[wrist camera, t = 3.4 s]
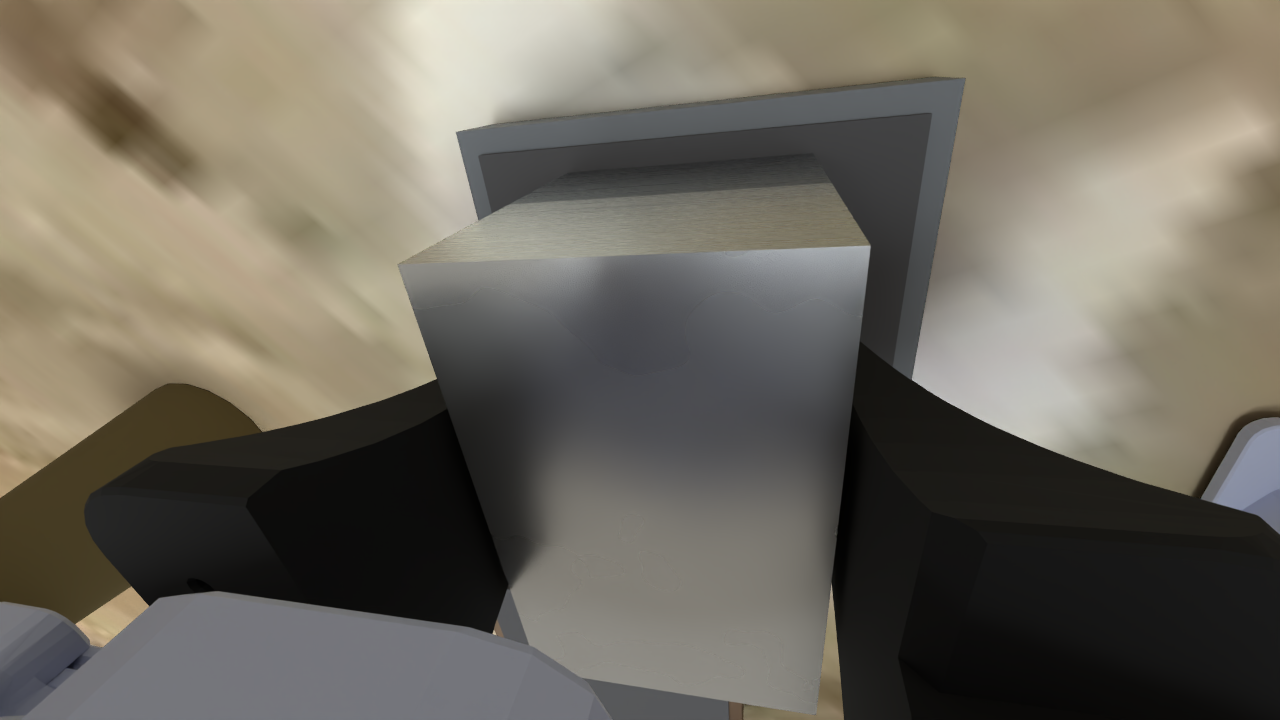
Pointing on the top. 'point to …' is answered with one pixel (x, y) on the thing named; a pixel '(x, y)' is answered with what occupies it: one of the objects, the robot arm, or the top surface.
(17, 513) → the cork
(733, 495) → the block
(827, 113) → the stand
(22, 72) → the top surface
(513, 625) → the stand
